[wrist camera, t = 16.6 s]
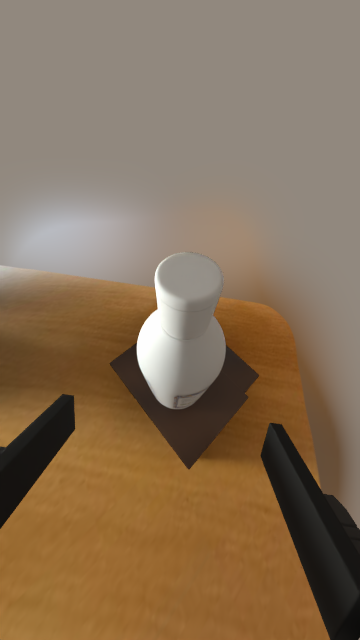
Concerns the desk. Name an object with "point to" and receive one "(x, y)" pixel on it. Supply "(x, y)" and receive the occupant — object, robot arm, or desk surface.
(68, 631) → the desk surface
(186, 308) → the bath foam
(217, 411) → the stepped brown block
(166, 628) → the desk surface
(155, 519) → the desk surface
